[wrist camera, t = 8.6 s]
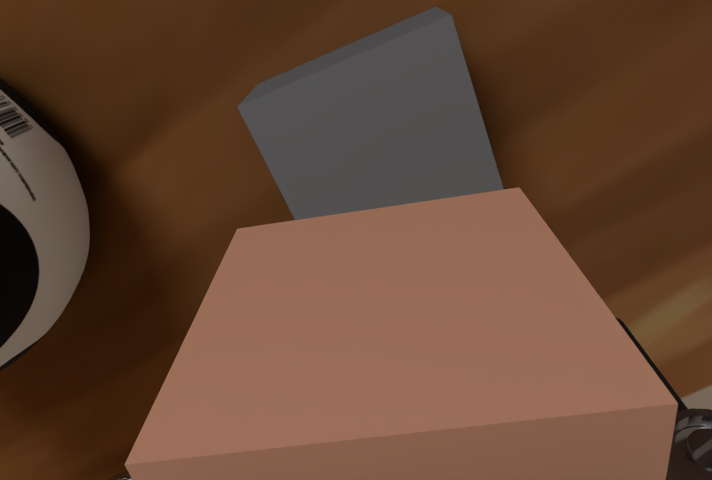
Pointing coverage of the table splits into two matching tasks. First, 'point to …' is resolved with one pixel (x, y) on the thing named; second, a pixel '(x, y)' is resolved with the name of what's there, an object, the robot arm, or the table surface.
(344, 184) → the charcoal block
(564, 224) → the table surface
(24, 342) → the milk container
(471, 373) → the terracotta cube
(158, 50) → the table surface
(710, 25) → the table surface
